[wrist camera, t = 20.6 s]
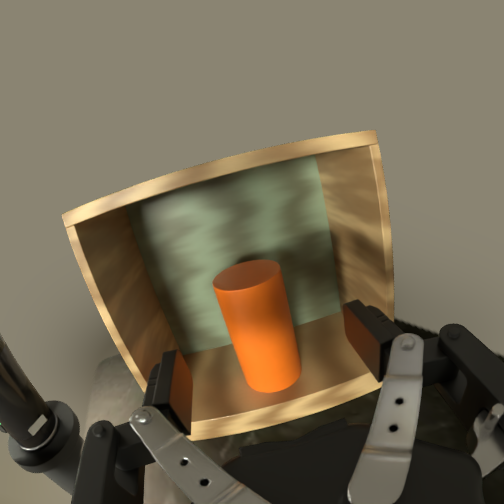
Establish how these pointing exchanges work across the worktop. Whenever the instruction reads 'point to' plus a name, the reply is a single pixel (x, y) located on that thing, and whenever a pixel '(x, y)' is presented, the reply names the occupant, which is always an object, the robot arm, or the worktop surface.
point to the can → (259, 323)
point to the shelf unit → (238, 251)
